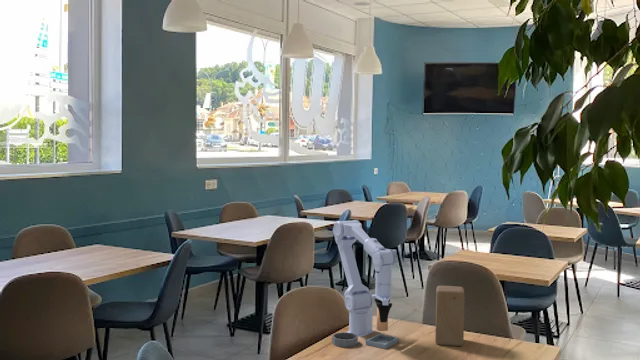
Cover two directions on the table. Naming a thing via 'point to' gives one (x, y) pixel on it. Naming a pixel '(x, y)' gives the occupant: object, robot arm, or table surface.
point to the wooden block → (449, 315)
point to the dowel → (381, 323)
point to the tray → (382, 341)
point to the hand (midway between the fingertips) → (382, 320)
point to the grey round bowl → (345, 339)
